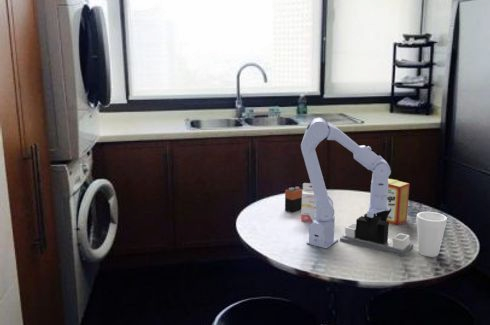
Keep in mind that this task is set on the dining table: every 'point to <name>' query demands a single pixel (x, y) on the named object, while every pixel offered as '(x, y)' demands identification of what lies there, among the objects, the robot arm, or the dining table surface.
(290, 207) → the battery
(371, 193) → the robot arm
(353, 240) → the rail panel
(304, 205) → the ink cartridge box
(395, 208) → the baking soda box
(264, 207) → the dining table surface
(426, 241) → the foam cup
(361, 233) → the digital camera
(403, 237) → the mounted modules
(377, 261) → the dining table surface
